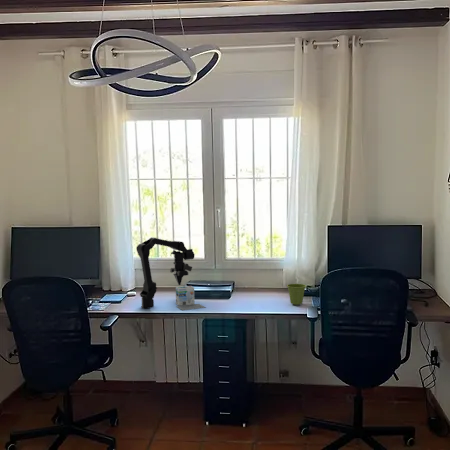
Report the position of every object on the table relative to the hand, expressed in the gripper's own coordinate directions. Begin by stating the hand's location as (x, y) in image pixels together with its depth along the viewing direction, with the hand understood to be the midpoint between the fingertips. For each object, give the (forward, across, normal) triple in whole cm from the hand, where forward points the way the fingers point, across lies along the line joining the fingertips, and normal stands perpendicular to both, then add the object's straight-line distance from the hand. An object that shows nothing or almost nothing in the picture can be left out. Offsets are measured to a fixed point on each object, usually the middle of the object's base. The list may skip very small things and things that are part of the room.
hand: (179, 284), depth 334 cm
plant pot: (+10, -43, -61) cm, 75 cm away
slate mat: (+11, -20, 0) cm, 23 cm away
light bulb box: (+11, -10, 0) cm, 15 cm away
